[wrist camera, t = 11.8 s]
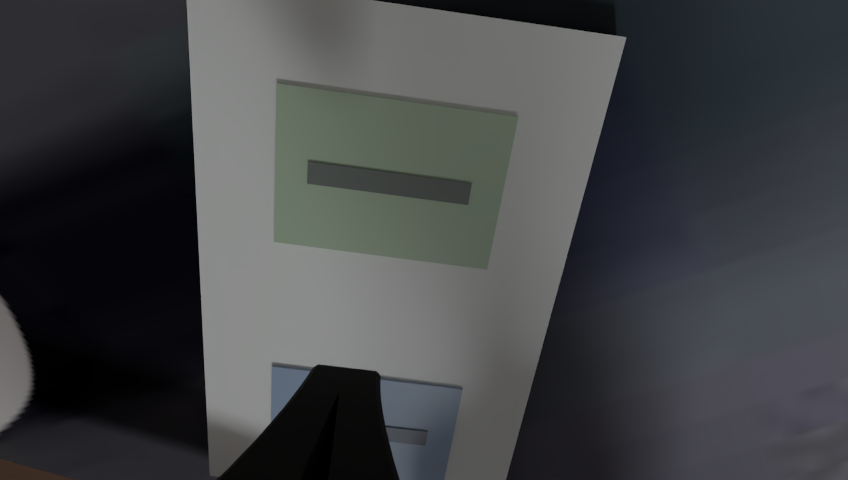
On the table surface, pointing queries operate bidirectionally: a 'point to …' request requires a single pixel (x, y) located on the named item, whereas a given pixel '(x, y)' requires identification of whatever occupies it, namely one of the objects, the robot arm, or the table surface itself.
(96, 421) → the table surface
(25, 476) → the swing bar
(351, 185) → the label panel
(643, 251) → the table surface
